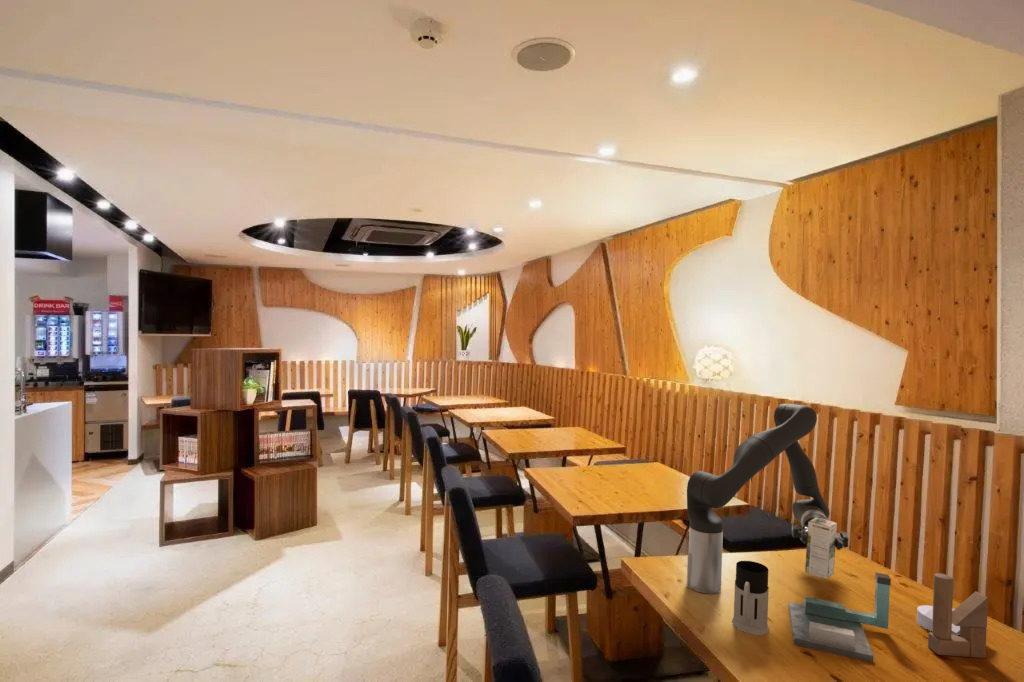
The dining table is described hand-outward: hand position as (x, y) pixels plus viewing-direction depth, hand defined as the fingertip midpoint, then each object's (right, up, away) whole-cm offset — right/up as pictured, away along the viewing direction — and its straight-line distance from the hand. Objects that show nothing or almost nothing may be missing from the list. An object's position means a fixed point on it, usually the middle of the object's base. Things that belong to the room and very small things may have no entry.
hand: (822, 543), depth 148 cm
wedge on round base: (+26, -19, -10) cm, 33 cm away
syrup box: (0, -9, +2) cm, 10 cm away
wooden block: (+20, -19, -20) cm, 34 cm away
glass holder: (-26, -17, -12) cm, 33 cm away
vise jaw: (+1, -16, -8) cm, 18 cm away
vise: (-6, -18, -12) cm, 22 cm away
